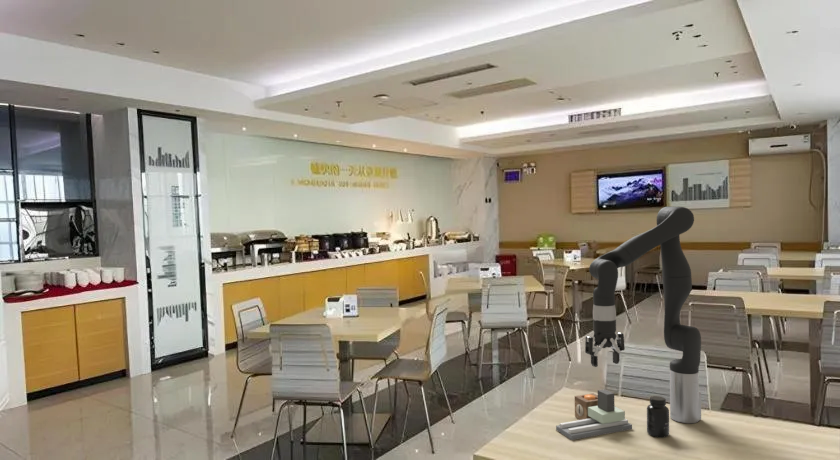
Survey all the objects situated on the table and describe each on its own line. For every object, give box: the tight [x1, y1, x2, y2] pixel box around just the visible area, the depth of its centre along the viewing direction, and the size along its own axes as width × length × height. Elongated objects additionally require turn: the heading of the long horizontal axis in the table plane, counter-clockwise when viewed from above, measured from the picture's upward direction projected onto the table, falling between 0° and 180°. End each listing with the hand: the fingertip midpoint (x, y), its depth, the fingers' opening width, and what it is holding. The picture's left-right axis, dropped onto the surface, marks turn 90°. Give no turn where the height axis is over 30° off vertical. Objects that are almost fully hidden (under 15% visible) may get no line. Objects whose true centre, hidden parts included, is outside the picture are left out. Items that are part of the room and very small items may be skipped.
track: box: [555, 418, 633, 441], centre depth 186 cm, size 24×9×3 cm, turn 109°
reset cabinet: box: [574, 392, 598, 420], centre depth 196 cm, size 9×7×8 cm
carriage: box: [588, 388, 626, 424], centre depth 188 cm, size 9×8×9 cm
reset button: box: [583, 393, 595, 400], centre depth 196 cm, size 4×4×4 cm
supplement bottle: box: [646, 395, 670, 438], centre depth 181 cm, size 7×7×12 cm
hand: (605, 364), depth 188 cm, fingers open, 8 cm apart
